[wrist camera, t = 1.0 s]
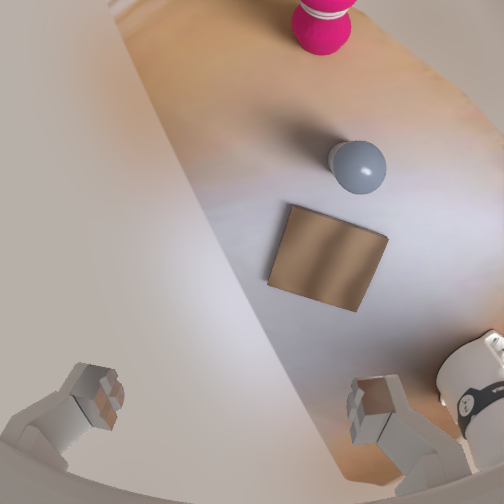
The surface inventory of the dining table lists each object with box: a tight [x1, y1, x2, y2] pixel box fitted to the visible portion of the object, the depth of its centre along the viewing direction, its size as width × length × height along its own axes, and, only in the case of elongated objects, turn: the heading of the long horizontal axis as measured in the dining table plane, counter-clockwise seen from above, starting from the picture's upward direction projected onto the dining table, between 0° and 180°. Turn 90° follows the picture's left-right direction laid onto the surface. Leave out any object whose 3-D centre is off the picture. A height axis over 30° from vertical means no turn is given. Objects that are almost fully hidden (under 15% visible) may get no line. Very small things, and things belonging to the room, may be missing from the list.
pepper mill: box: [292, 0, 356, 55], centre depth 25 cm, size 7×7×20 cm
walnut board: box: [267, 204, 389, 312], centre depth 44 cm, size 14×12×2 cm
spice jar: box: [328, 141, 386, 194], centre depth 34 cm, size 5×5×11 cm
